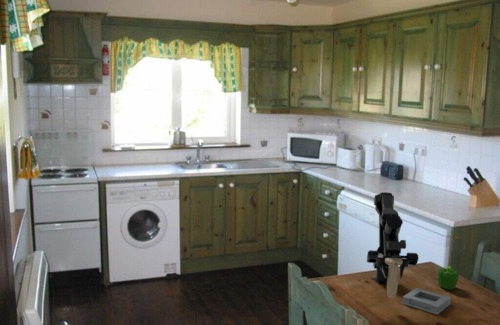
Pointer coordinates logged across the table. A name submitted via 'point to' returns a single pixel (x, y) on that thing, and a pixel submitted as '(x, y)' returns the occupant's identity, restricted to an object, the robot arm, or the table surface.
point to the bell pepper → (448, 278)
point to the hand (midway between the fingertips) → (393, 278)
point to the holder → (426, 300)
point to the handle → (392, 276)
